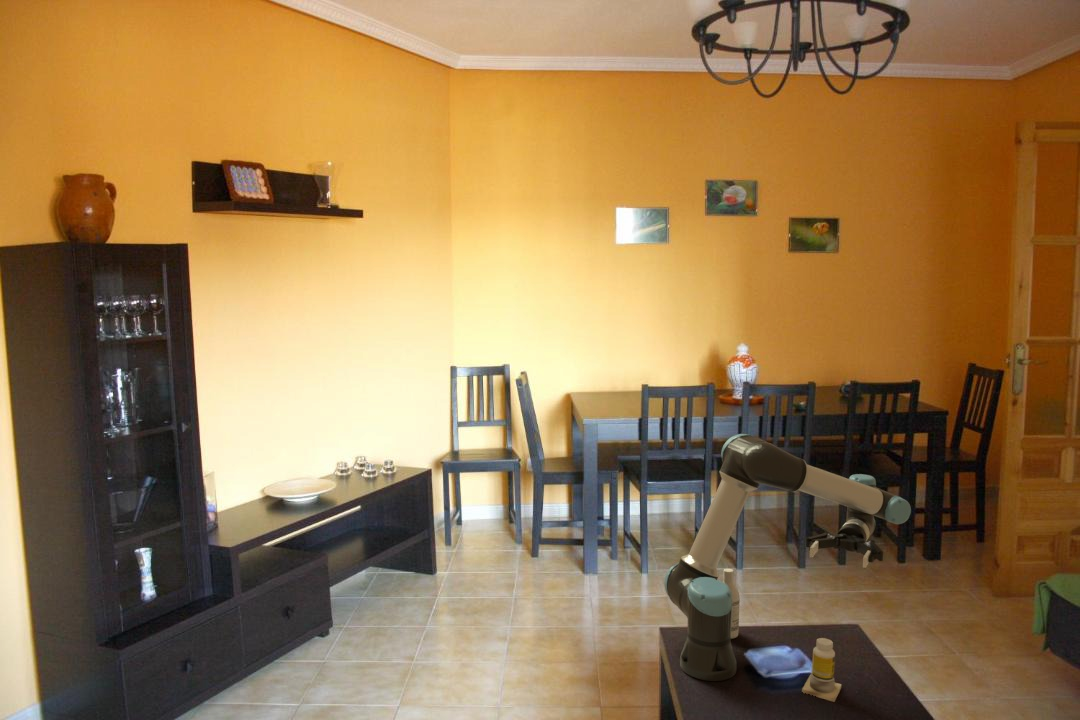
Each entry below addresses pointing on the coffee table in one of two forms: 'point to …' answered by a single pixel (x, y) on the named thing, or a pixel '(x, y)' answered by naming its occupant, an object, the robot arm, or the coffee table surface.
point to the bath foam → (736, 601)
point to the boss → (822, 688)
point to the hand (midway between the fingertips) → (837, 557)
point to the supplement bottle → (823, 660)
